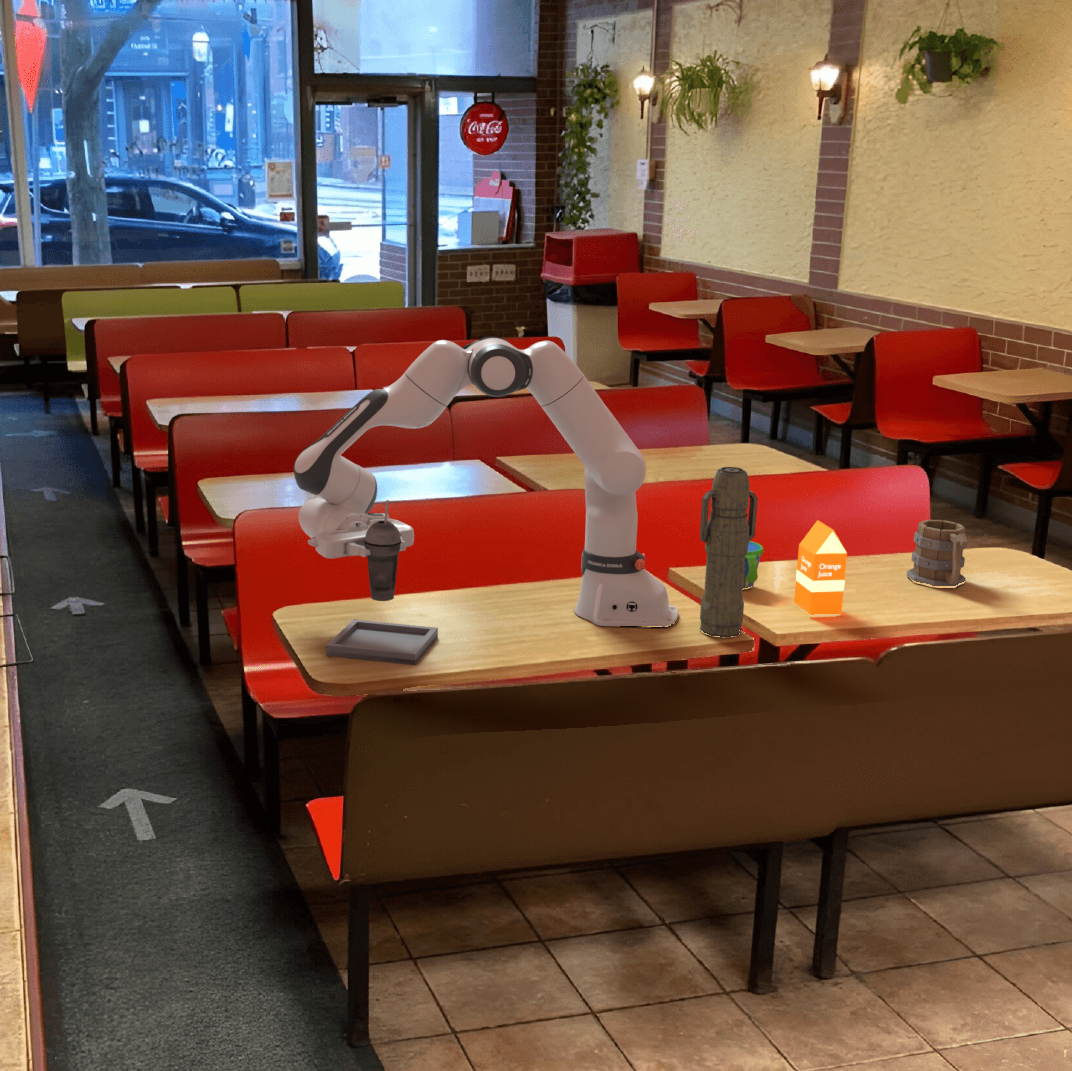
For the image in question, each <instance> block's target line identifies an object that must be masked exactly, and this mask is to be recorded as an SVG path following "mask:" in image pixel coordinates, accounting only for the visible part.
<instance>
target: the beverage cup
mask: <svg viewBox="0 0 1072 1071" xmlns="http://www.w3.org/2000/svg"><path fill="white" fill-rule="evenodd" d="M389 503H390V500H388V499H387V500H386V502H385V508H384V510H385V512H384V514H385V519H384V521H378V522H375V523H374V524H372V525H371V526H370V527H369V528H368V530H367V532H366V536H365V541H364V543H365V546H367V547H369V548H370V549H371V551H370V553H371V555H370V556H367V569H368V580H369V591H370V599H371V600H373V601H378V602H388V601H391V600H393V599H395V591H396V586H397V585H396V583H397V582H396V581H397V573H398V562H399V553H400V552H401V551H400V544H401V537H400V533H399V530H398V529H397V527H396V526H395V525H394V524H392V523H391V522H388V521H387V516H388V515H389Z"/></svg>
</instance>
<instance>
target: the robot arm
mask: <svg viewBox="0 0 1072 1071" xmlns="http://www.w3.org/2000/svg"><path fill="white" fill-rule="evenodd" d="M400 376H401V377H399V378H398V379H397V380H396V381H395V382H393V383H392V384H390V385H388V386H386V387H384V388H382V389H380V388H377V389H373V390H372V391H370V392H369V393H367V394H366V395H365V396H363V397H362V398H361V399H359V401H358V402H357V403H356V404H355V405H354V406H352V407H351V408H350V409H349V410H348V411H347V412H346V413H345V414H344V415H343V416H342V417H341V418H340V419H338V420H337V421H336V422H335V423H334V424H333V425H332V426H331V427H330V428H329V429H328V430H327V431H326V432H325V433H323V435H322V436H320V437H319V438H318V439H317V440H315V441H313V443H311V444H309V445H308V446H307V447H305V448H304V449H303V450H301V452H300V453H299V454H298V455H297V457H296V459H295V460H294V464H293V475H294V479H295V482H296V485H297V486H298V488H299V489H300V490H302V491H303V492H304V491H305V492H307V493H309V494H311V495H314V496H316V497H315V498H311V499H309V500H307V501H305V502H304V503H303V504H301V505H302V506H301V507H300V508H299V512H298V521H299V522H298V523H299V525H300V527H301V530H302V531H303V532H304V533H305V535H307V536H308V537H309V538H310V539H308V540H307V544H308V545H309V546H311V547H315V551H316V552H317V553H318V554H319V555H321V557H324V558H325V559H339V558H345V557H354V556H355V557H356V556H360V557H362V558H365V557H367V556H370V555H371V553H370V551H371V549H370V548H369V547H367V546H365V543H364V541H365V536H366V532H367V530H368V528H369V527H370V526H371V525H372V524H374V523H375V522H378V521H384V519H385V512H384V513H383V512H382V513H381V512H379V513H378V512H376V513H375V512H371V511H372V509H373V507H374V505H375V502H376V500H377V498H378V497H377V496H378V483H377V479H376V476H375V475H374V474H373V473H372V472H370V471H368V470H367V469H365V468H364V467H362V466H360V465H359V464H357V463H354V462H353V461H351V460H350V459H347V458H346V457H345V456H342V454H344V452H346V450H347V449H349V448H350V447H351V446H352V445H353V444H354V443H355V442H356V441H357V440H358V439H359V438H361V436H362V435H363V434H365V433H366V432H367V431H369V430H370V429H372V428H375V427H379V426H380V427H381V426H390V427H391V426H392V427H398V428H404V429H421V428H426V427H429V426H430V425H431V424H432V423H434V422H435V421H436V420H437V419H438V418H439V417H440V416H441V415H442V414H443V412H444V411H445V409H446V408H447V407H448V405H449V404H450V403H451V402H452V401H453V399H454V398H455V396H457V394H458V393H460V391H462V390H464V388H466V387H469V386H475V387H476V388H477V390H479V391H480V392H481V393H483V395H484V394H485V395H486V396H489V397H497V398H500V397H505V396H507V395H511V394H513V393H516V392H519V391H523V390H525V389H527V391H529V393H531V395H532V396H533V398H534V399H535V400H536V401H537V403H538V404H539V406H540V407H541V409H542V410H543V412H544V413H545V414H546V415H547V416H548V418H549V420H550V421H551V422H552V423H553V425H554V427H555V428H556V429H557V431H558V432H559V433H560V434H561V436H562V437H563V439H564V440H565V441H566V442H567V444H568V445H569V447H570V448H571V449H572V451H573V453H575V455H576V456H577V458H578V460H580V462H581V464H582V465H583V466H584V469H583V470H584V494H585V495H584V496H585V533H584V535H585V536H584V538H585V539H584V548H583V549H582V553H581V561H580V563H581V565H580V566H581V568H580V569H581V574H582V576H581V584H580V590H579V594H578V599H577V602H576V605H575V608H574V613H575V614H576V616H579V617H580V618H582V619H584V620H586V621H587V620H588V621H590V622H592V623H593V624H594V625H596V626H598V627H620V626H662V627H665V626H667V625H668V626H669V625H670V624H673V623H674V622H675V621H676V620H677V621H678V619H679V610H678V609H677V607H676V606H675V605H673V604H670V602H669V596H668V595H669V594H668V590H667V587H666V586H665V584H664V583H663V582H661V581H660V580H659V579H657V578H656V577H655V576H654V575H653V574H652V573H650V572H649V571H647V570H646V568H645V566H646V555H645V553H644V552H643V553H641V552H639V551H638V550H637V536H638V535H637V534H638V519H639V518H638V516H639V515H638V510H637V507H638V506H637V497H636V491H638V490H639V489H640V488H641V486H643V483H644V481H645V479H646V474H647V470H646V469H647V468H646V462H645V458H644V456H643V454H642V453H641V451H640V449H639V448H638V447H637V446H636V445H635V443H634V442H633V440H632V439H631V438H630V436H629V434H627V432H626V430H624V428H623V427H622V425H621V424H620V423H619V421H618V420H617V418H615V416H614V414H613V413H612V412H611V411H610V409H609V408H608V407H607V406H606V404H605V403H604V401H603V400H602V398H601V397H600V395H599V394H598V393H597V391H596V390H595V388H594V387H593V385H592V384H591V383H590V382H589V380H588V378H587V377H586V376H585V375H584V373H583V372H582V370H581V368H580V367H579V366H578V365H577V364H576V362H574V360H572V358H571V357H570V356H569V355H568V354H567V353H566V352H565V350H563V349H562V348H561V347H560V346H559V345H558V344H556V343H555V342H553V341H551V340H543V341H537V342H535V343H534V344H533V343H532V344H531V345H530V346H529V347H527V348H525V349H519V348H517V347H516V346H514V345H513V344H511V342H510V341H508V340H507V339H505V338H502V337H499V336H491V335H490V336H485V337H483V338H480V339H478V340H475V341H473V342H470V343H468V344H466V345H463V346H462V347H461V346H460V345H458V344H457V343H455V342H454V341H450V340H446V339H441V340H440V339H439V340H437V341H436V340H435V341H434V342H433V343H431V344H430V345H429V346H428V347H427V348H426V349H425V350H423V351H422V353H420V355H418V357H417V358H416V359H414V361H412V363H411V364H410V365H409V366H408V368H407V369H406V370H405V371H404V373H403V374H402V375H400ZM387 521H388V522H391V523H392V524H394V525H395V526H396V527H397V529H398V530H399V533H400V537H401V544H400V551H399V552H402V551H403V552H404V551H406V549H407V547H411V546H413V545H414V541H415V532H414V528H413V527H412V526H411V525H408V524H407V523H405V522H402V521H400V520H398V519H393V518H390V516H389V514H388V516H387ZM677 618H678V619H677ZM677 621H676V622H677ZM673 625H674V624H673Z"/></svg>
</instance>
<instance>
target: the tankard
mask: <svg viewBox="0 0 1072 1071" xmlns="http://www.w3.org/2000/svg"><path fill="white" fill-rule="evenodd" d="M913 542H914V543H915V550H913V551H912V554H911V562H913V568H911V569H908V570H907V571H906V577H907V576H908V577H910V578H911V579H912V580H914V581H916V582H920V583H926V584H930V585H932V586H956V585H958V584H959V583H962V582H964V581H965V582H966V580H967V579H966V577H965V576H964V575H963V574H961V572H962V571H961V570H962V568H964V567H965V561H966V558H965V556H963V554H964V552H963V551H964V549H966V548H967V547H968V546H967V545H968V544H969V541H968V538H967V536H966V527H965V526H964V525H962V524H961V523H958V522H953V521H949V520H946V519H945V520H943V519H925V520H922V521H920V522H918V525H917V531H915V532H914V534H913ZM908 577H907V578H908Z"/></svg>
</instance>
